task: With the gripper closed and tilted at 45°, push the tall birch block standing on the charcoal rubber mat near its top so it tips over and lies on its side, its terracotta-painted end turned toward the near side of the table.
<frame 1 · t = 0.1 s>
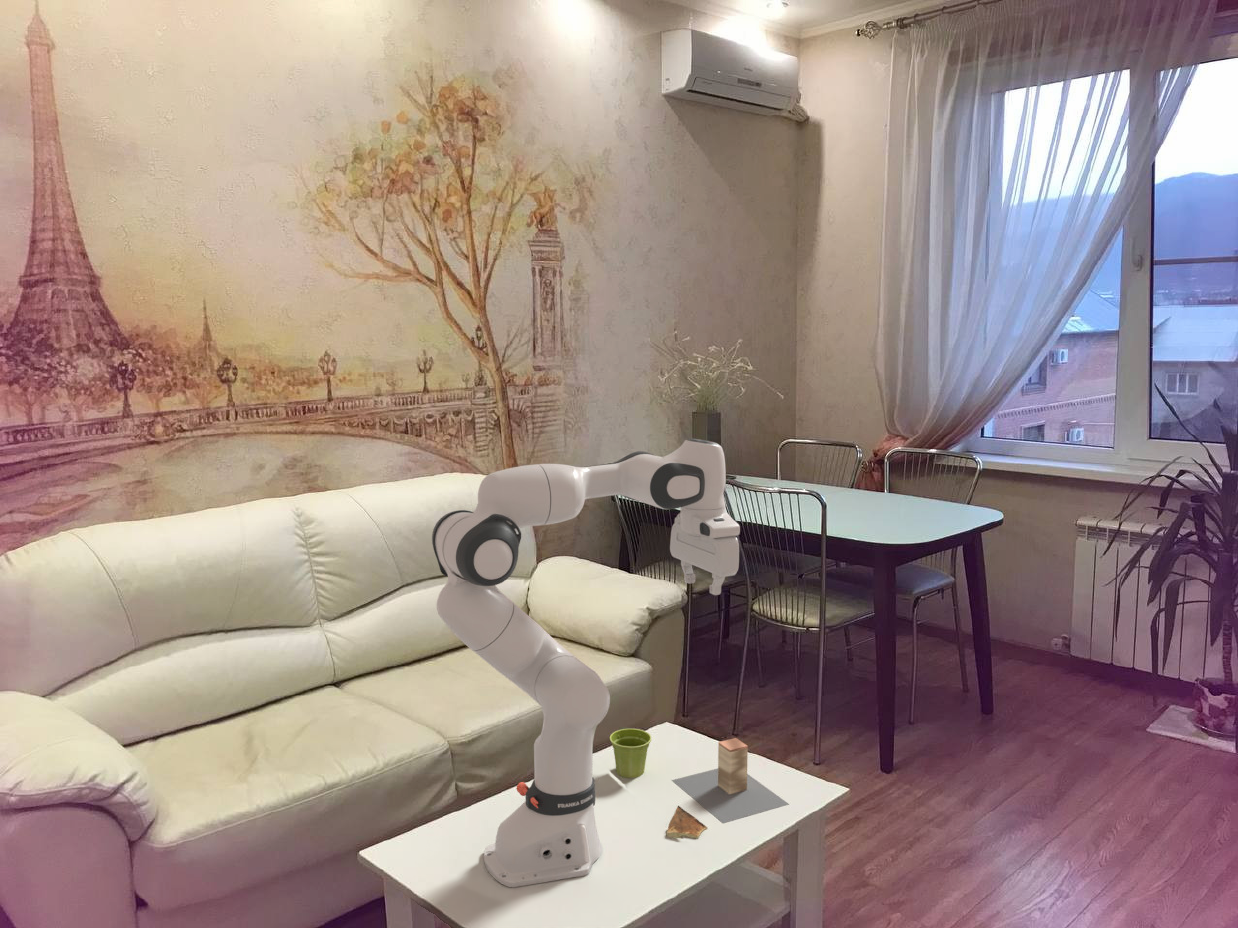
hand: (702, 588, 188), 48 cm above the table, tool pointing down, fingers open, 8 cm apart
shard: (679, 830, 190), on the table
birch block: (732, 787, 205), point 1 cm above the table, touching rubber mat
rubber mat: (728, 794, 203), on the table
plant pot: (630, 774, 212), on the table
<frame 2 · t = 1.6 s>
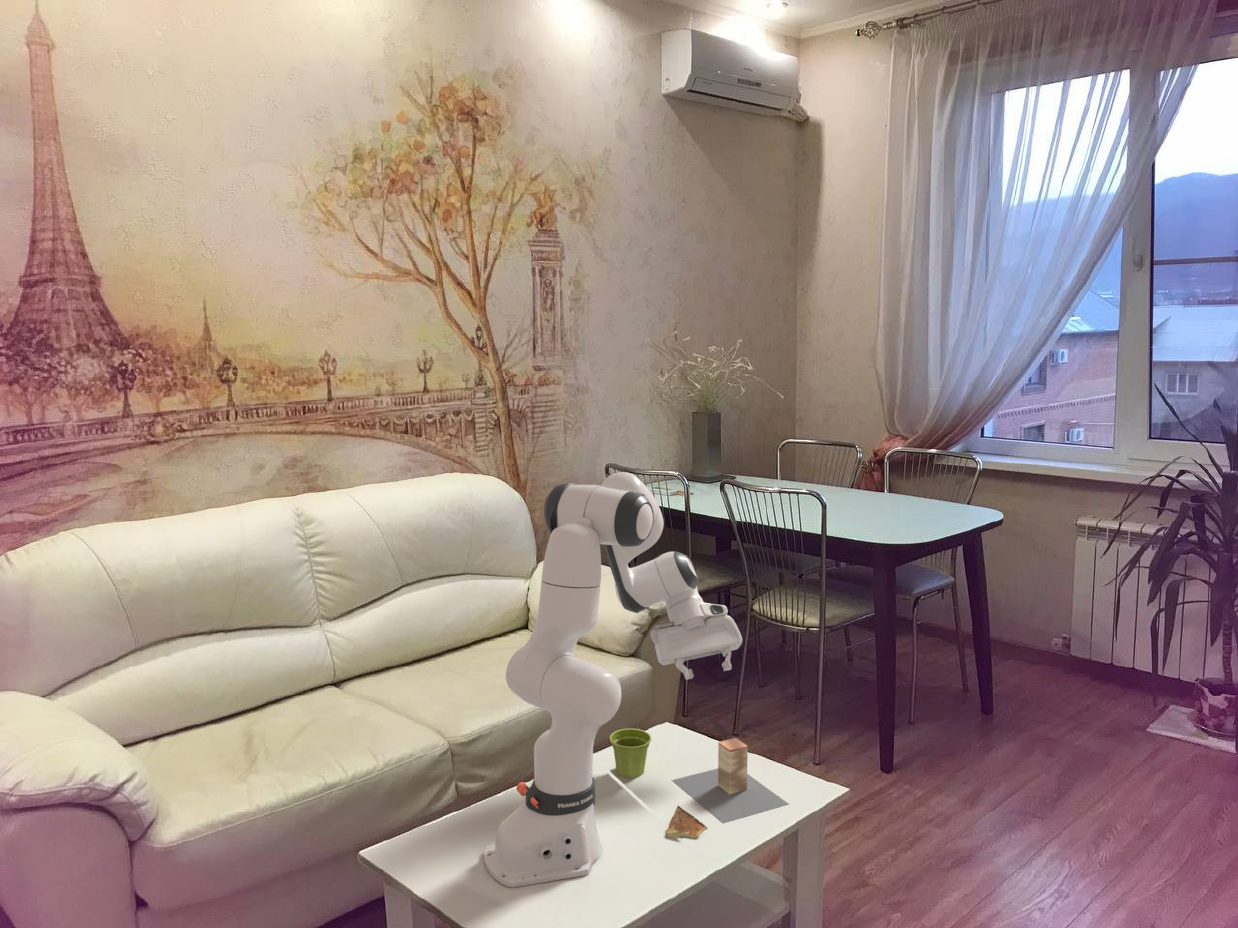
hand: (709, 673, 211), 23 cm above the table, tool tilted 45°, fingers open, 8 cm apart
nothing on the table moved.
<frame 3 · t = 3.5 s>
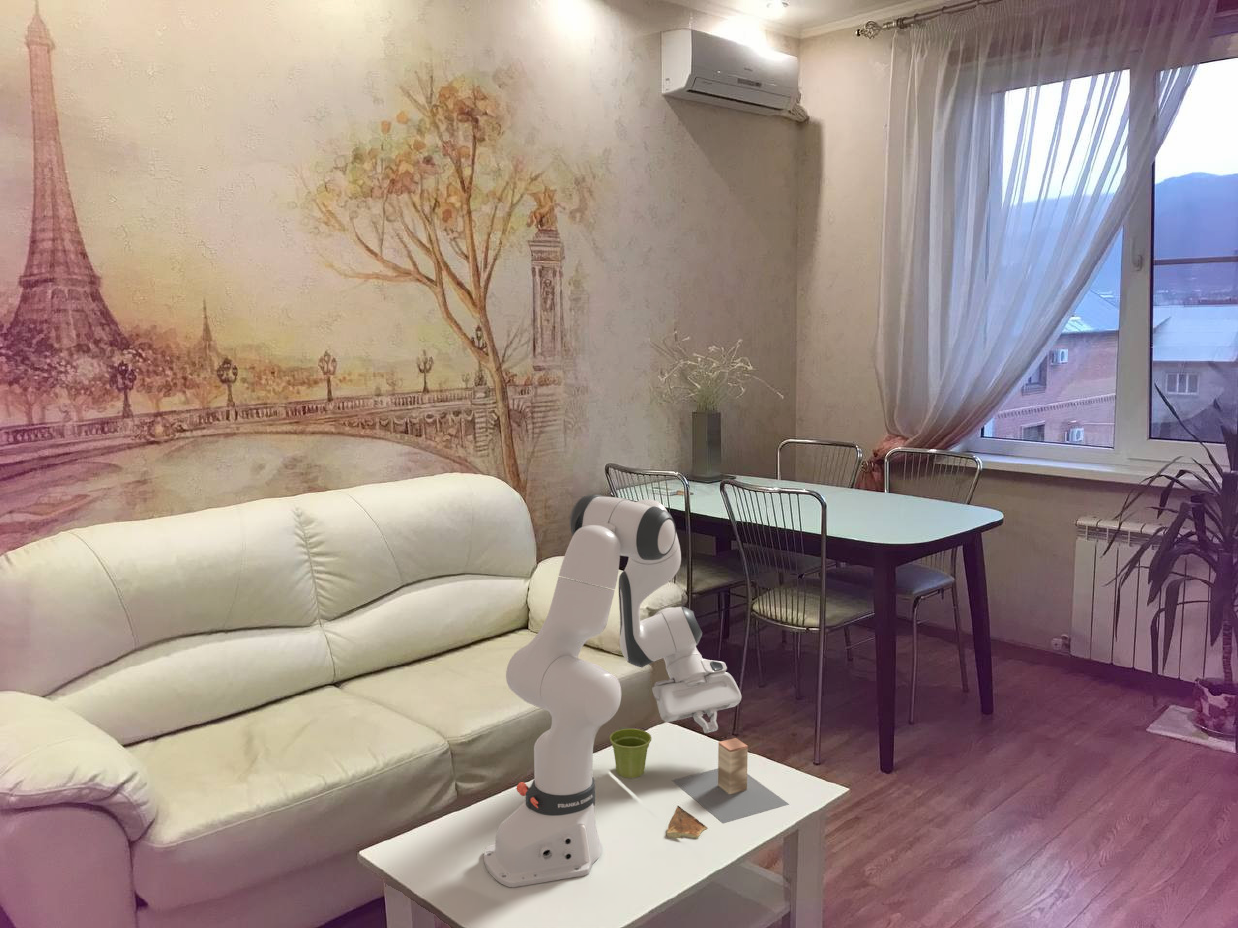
hand: (711, 730, 211), 10 cm above the table, tool tilted 45°, fingers closed
nothing on the table moved.
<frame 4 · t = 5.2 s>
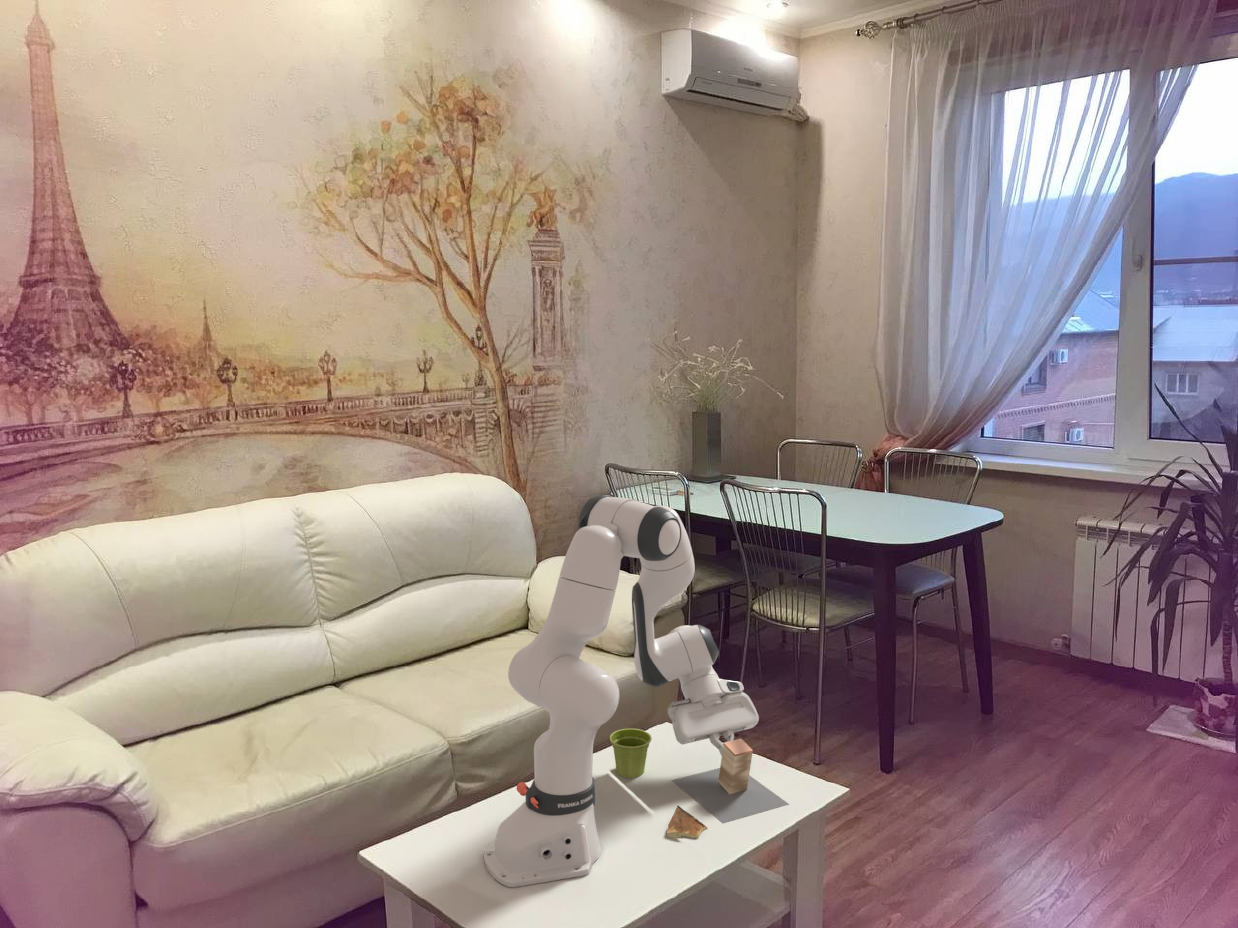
hand: (728, 753, 205), 8 cm above the table, tool tilted 45°, fingers closed
birch block: (732, 785, 204), point 1 cm above the table, tilted 11°, touching rubber mat
everything else where it was.
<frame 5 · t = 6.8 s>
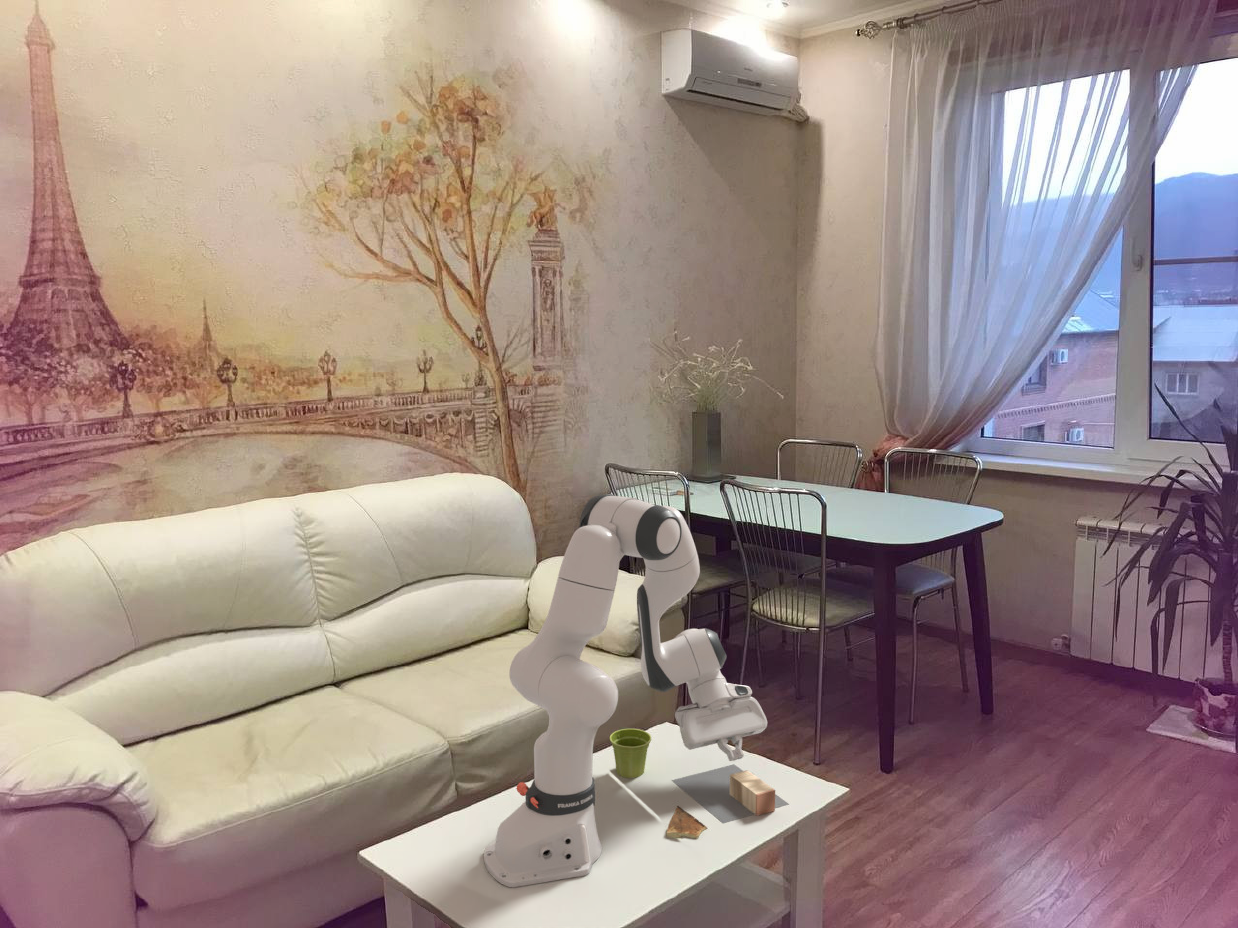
hand: (737, 758, 202), 8 cm above the table, tool tilted 45°, fingers closed
birch block: (738, 782, 202), point 3 cm above the table, tilted 90°, touching rubber mat
everything else where it was.
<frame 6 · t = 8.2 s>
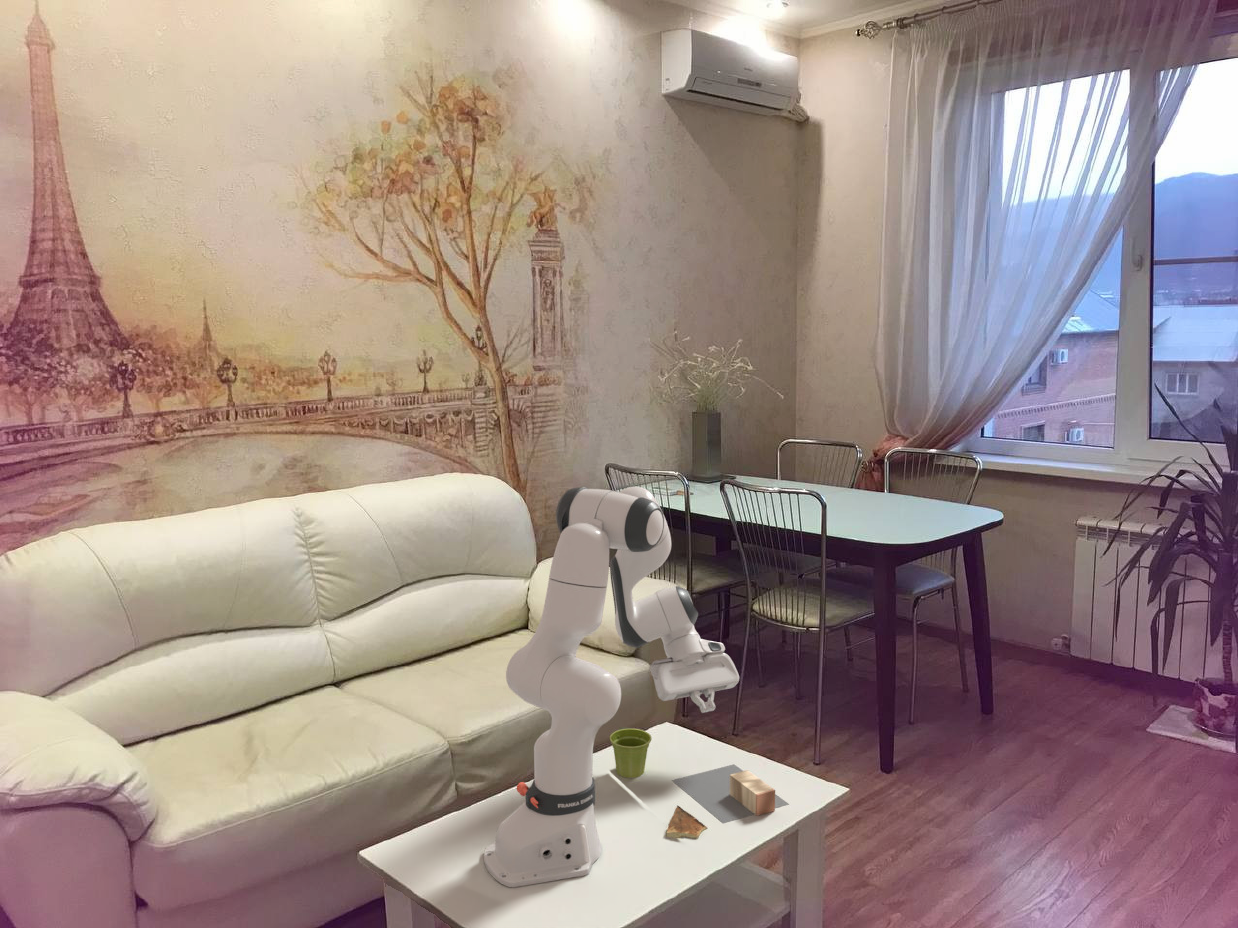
hand: (708, 710, 210), 15 cm above the table, tool tilted 45°, fingers closed
nothing on the table moved.
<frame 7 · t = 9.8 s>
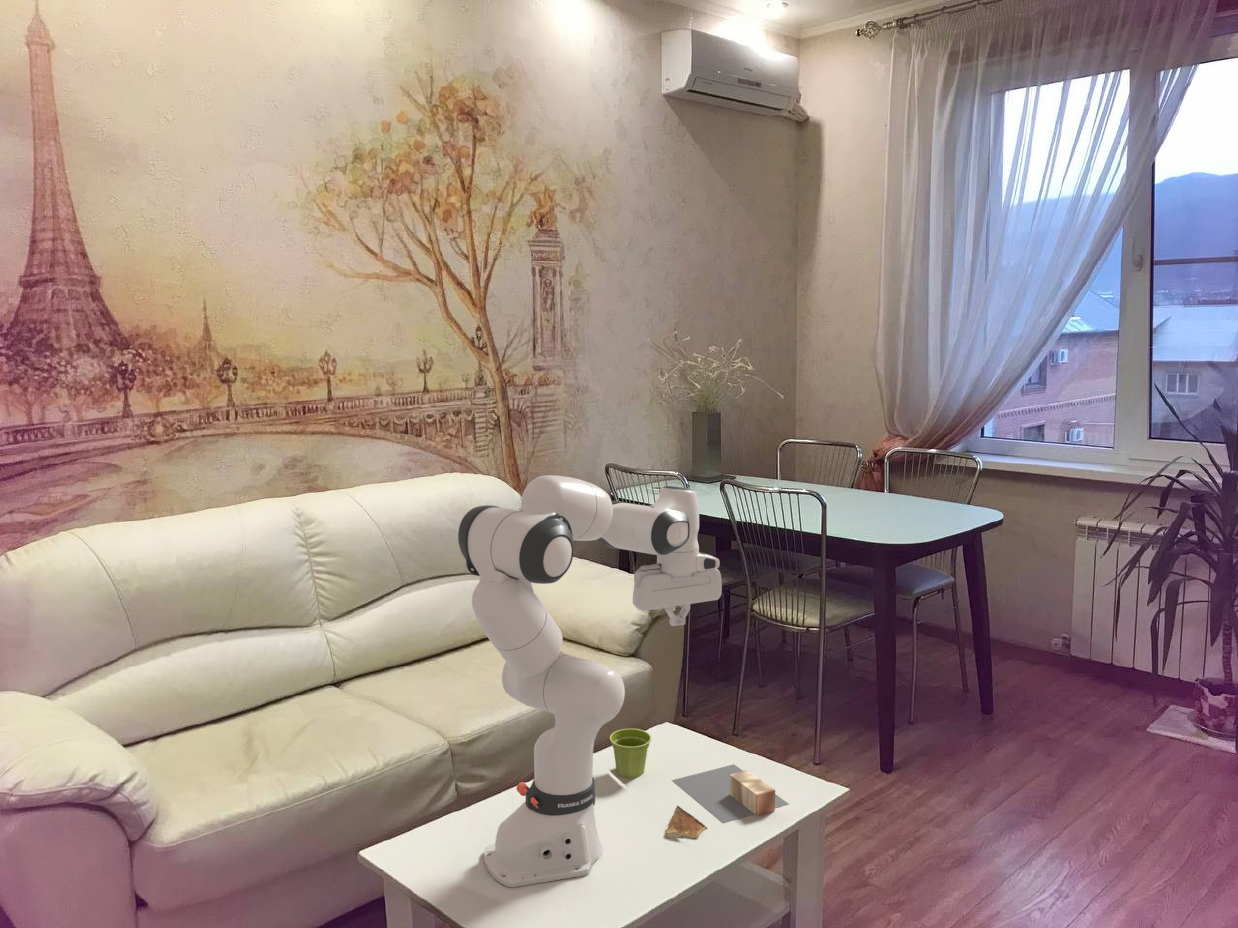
hand: (677, 624, 201), 37 cm above the table, tool pointing down, fingers closed
nothing on the table moved.
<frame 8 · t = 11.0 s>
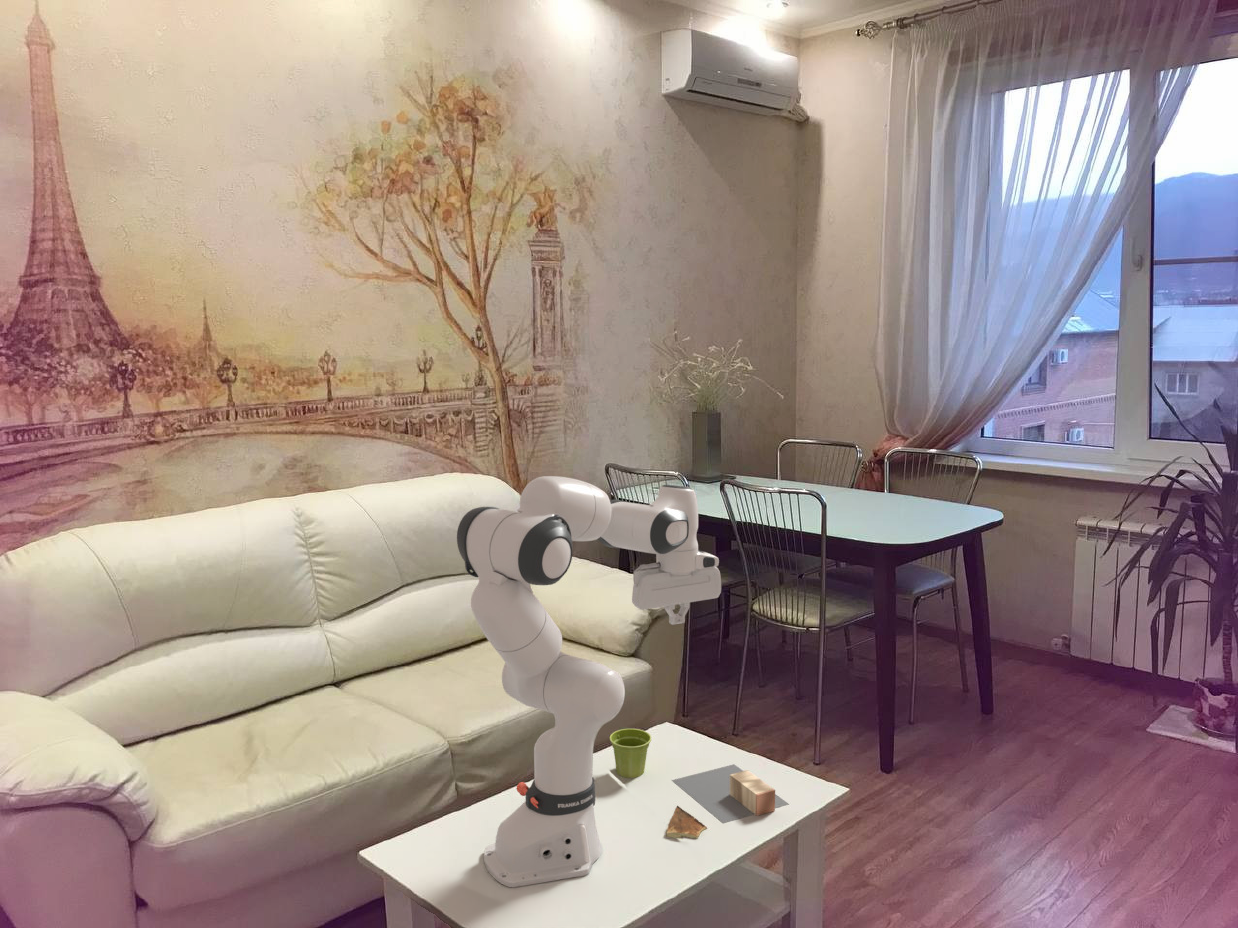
hand: (676, 623, 201), 37 cm above the table, tool pointing down, fingers closed
nothing on the table moved.
at the end: birch block tilted 90°; birch block inside the target area (1.7 cm from its centre), point 2.8 cm above the table; birch block touching rubber mat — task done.
